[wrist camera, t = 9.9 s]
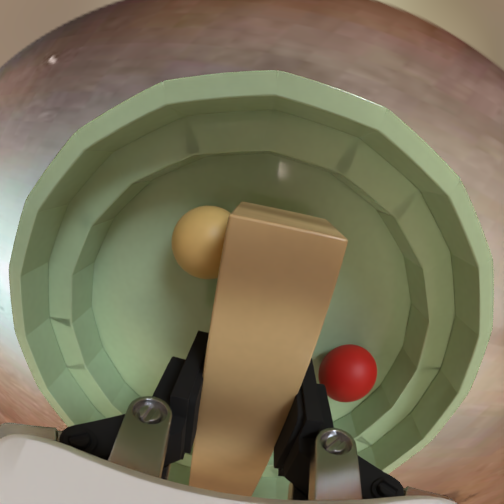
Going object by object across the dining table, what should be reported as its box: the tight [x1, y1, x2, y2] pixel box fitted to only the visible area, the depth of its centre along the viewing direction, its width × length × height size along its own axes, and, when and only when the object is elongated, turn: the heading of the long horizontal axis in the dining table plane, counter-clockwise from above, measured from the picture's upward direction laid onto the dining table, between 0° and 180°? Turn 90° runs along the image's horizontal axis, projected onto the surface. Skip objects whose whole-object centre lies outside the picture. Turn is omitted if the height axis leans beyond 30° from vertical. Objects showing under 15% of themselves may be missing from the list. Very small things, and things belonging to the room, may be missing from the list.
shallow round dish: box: [9, 70, 494, 500], centre depth 12 cm, size 21×21×5 cm
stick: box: [189, 202, 348, 497], centre depth 10 cm, size 13×3×3 cm, turn 169°
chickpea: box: [171, 205, 231, 279], centre depth 11 cm, size 3×3×3 cm
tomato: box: [318, 344, 377, 402], centre depth 13 cm, size 3×3×3 cm
